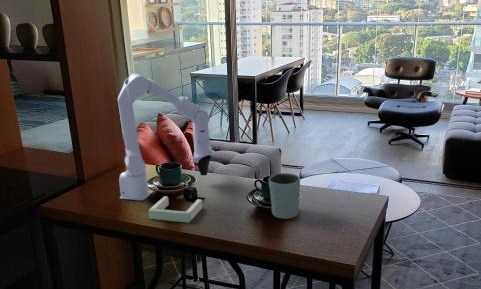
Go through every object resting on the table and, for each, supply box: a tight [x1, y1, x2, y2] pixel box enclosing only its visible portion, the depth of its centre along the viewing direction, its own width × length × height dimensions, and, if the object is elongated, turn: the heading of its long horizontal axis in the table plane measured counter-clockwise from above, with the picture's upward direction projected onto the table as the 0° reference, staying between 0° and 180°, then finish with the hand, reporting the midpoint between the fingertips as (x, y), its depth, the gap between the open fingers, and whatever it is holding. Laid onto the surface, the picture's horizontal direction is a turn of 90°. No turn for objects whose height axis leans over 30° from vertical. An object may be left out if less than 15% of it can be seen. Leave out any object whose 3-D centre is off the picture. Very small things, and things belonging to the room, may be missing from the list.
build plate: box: [176, 185, 206, 204], centre depth 166 cm, size 12×7×5 cm, turn 54°
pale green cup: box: [268, 172, 301, 220], centre depth 150 cm, size 10×10×12 cm
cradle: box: [148, 195, 203, 224], centre depth 154 cm, size 14×12×3 cm
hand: (203, 174), depth 177 cm, fingers closed
